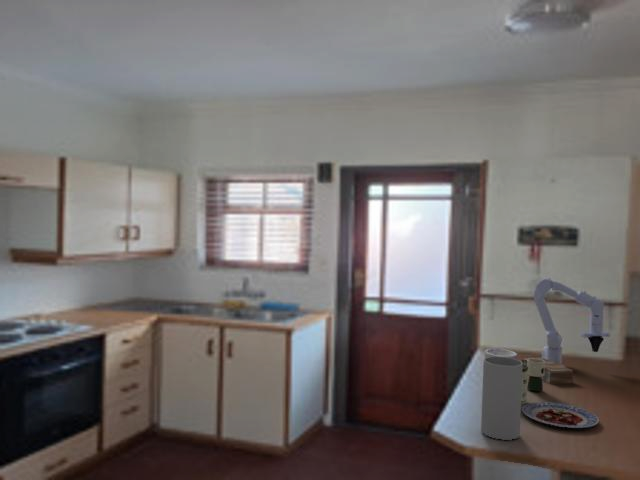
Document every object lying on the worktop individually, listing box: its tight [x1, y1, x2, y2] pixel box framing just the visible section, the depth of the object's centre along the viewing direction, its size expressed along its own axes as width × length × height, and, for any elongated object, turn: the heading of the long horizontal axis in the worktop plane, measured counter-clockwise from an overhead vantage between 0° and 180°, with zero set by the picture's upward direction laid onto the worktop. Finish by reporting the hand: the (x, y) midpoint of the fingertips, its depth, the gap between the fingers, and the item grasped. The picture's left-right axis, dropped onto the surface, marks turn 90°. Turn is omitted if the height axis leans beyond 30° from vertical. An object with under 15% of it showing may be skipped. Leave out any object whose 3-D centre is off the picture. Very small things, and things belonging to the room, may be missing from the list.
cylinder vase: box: [480, 357, 523, 441], centre depth 191 cm, size 12×12×25 cm
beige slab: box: [521, 357, 574, 385], centre depth 263 cm, size 22×11×6 cm, turn 14°
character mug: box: [527, 357, 545, 392], centre depth 241 cm, size 11×7×13 cm, turn 157°
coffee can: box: [521, 365, 528, 405], centre depth 227 cm, size 10×10×14 cm
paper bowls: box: [484, 348, 518, 360], centre depth 276 cm, size 15×15×8 cm
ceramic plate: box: [522, 401, 600, 429], centre depth 207 cm, size 26×26×3 cm
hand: (595, 351), depth 275 cm, fingers closed
